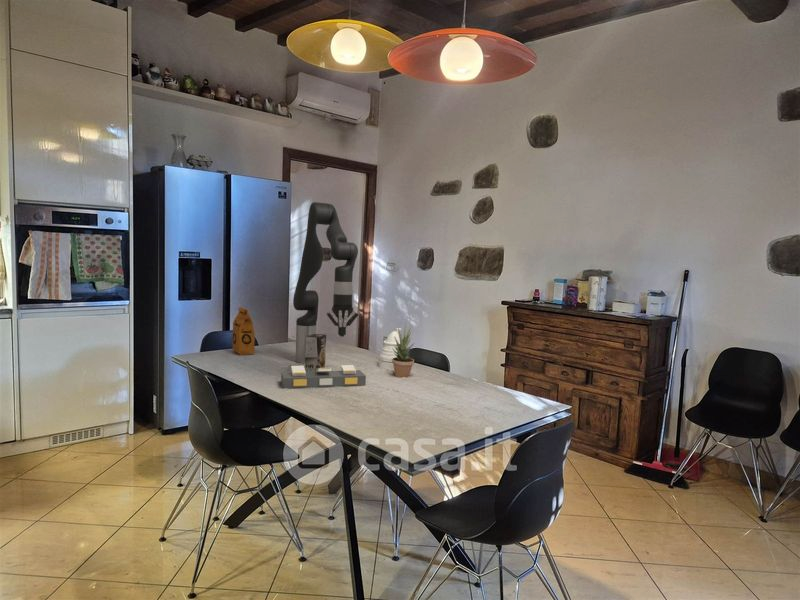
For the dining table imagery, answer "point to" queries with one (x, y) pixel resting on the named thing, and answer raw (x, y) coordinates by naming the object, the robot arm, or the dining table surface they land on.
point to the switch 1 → (298, 371)
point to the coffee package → (243, 333)
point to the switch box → (322, 379)
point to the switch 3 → (348, 369)
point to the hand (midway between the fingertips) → (341, 336)
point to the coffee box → (315, 352)
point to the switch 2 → (323, 370)
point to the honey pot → (389, 350)
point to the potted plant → (403, 356)
